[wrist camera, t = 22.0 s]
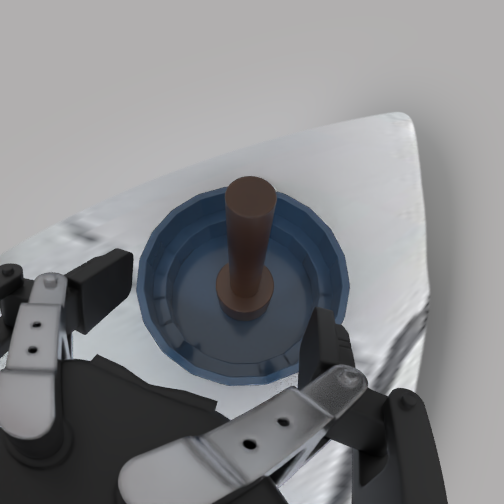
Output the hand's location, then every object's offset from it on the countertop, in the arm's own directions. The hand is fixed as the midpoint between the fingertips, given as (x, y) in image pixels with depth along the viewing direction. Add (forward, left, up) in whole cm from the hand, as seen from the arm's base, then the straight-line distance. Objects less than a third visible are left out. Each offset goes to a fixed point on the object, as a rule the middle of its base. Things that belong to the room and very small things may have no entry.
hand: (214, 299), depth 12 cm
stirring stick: (0, +4, -12) cm, 13 cm away
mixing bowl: (0, +4, -13) cm, 14 cm away
